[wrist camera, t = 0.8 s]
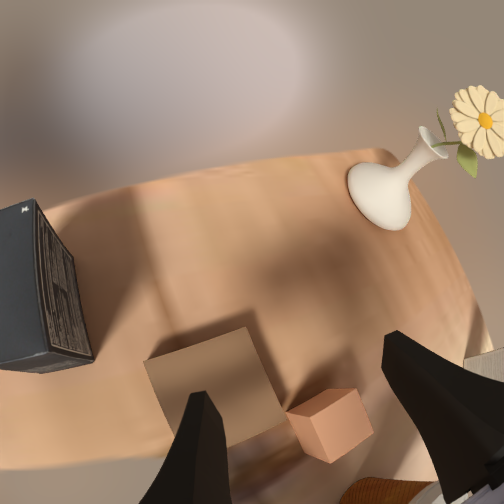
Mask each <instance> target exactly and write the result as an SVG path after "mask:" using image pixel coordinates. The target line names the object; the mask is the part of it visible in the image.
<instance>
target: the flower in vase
mask: <svg viewBox="0 0 504 504" xmlns="http://www.w3.org/2000/svg"><path fill="white" fill-rule="evenodd" d="M455 98H456V100H453V101H452V105H453V106H454V108H451V109H450V110H449V113H450V115H451V119H452V120H453V121H454V124H453V125H454V127H455V128H456V129H457V130H458V131H459V133H458V136H459V138H460V139H461V141H458V142H441V140H440V139H439V138H438V137H437V136H436V135H435V134H434V133H433V132H432V131H430V130H429V129H427V128H425V127H423V126H420V127H419V134H418V140H417V142H416V145H415V146H414V148H413V150H412V151H411V153H410V154H409V155H408V156H407V158H406V159H405V160H404V161H403V162H402V163H401V164H400V165H398V166H397V167H394V168H390V167H387V166H384V165H380V164H376V163H369V162H363V163H359V164H357V165H355V166H353V167H352V168H351V169H350V171H349V173H348V188H349V192H350V195H351V197H352V199H353V201H354V203H355V205H356V206H357V207H358V209H359V210H360V211H361V213H362V214H363V215H364V216H365V217H366V218H367V219H368V220H370V221H371V222H372V223H374V224H375V225H377V226H379V227H381V228H383V229H387V230H401V229H403V228H404V227H405V226H406V225H407V223H408V221H409V219H410V216H411V201H410V195H409V191H408V182H409V180H410V179H411V177H412V176H413V175H414V174H415V173H416V172H417V171H418V170H419V169H421V168H422V167H423V166H424V165H426V164H428V163H429V162H431V161H434V160H436V159H446V158H448V152H447V149H446V148H445V146H444V145H453V144H460V145H459V147H458V152H457V161H458V163H459V164H460V165H461V167H463V169H465V170H466V171H467V172H468V173H469V174H470V175H471V176H473V177H474V178H476V175H477V156H476V153H475V152H474V151H473V150H472V149H471V148H474V150H475V151H476V152H478V153H479V155H481V156H484V157H485V158H486V159H493V158H495V155H496V156H497V157H502V156H503V155H504V99H500V98H499V97H498V95H497V94H496V92H494V91H491V92H489V91H488V90H486V89H484V87H483V86H481V85H479V86H478V87H473V86H469V87H468V88H466V89H465V90H463V89H460V90H459V92H457V93H455ZM437 117H438V120H439V123H440V125H441V128H442V130H443V133H444V136H445V140H446V135H445V129H444V126H443V124H442V122H441V120H440V118H439V115H438V110H437ZM462 143H463V144H462ZM464 144H466V145H467V146H468V147H467V146H466V145H464Z"/></svg>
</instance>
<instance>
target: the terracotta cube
mask: <svg viewBox="0 0 504 504" xmlns="http://www.w3.org/2000/svg"><path fill="white" fill-rule="evenodd" d="M286 414H287V416H288V419H289V421H290V423H291V425H292V427H293V429H294V431H295V434H296V436H297V438H298V440H299V442H300V444H301V446H302V448H303V451H304V453H306V454H308V455H311V456H313V457H315V458H318V459H320V460H323V461H325V462H328V463H330V464H331V463H332V462H334V461H335V460H337V459H338V458H340V457H341V456H343V455H344V454H346V453H347V452H349V451H350V450H351V449H353V448H354V447H356V446H357V445H358V444H360V443H361V442H362V441H364V440H365V439H366V438H368V437H369V436H370V435H372V434H373V433H374V431H373V428H372V426H371V423H370V421H369V418H368V415H367V413H366V410H365V408H364V406H363V403H362V401H361V398H360V396H359V393H358V391H357V388H346V389H327V390H325V391H323V392H321V393H320V394H318V395H316V396H315V397H313V398H311V399H309V400H307V401H306V402H304V403H302V404H300V405H298V406H296V407H295V408H293V409H291V410H289V411H287V412H286Z"/></svg>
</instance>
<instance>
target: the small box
mask: <svg viewBox="0 0 504 504" xmlns="http://www.w3.org/2000/svg"><path fill="white" fill-rule="evenodd" d="M93 362H94V357H93V354H92V350H91V346H90V342H89V338H88V334H87V330H86V324H85V322H84V317H83V312H82V307H81V302H80V295H79V291H78V285H77V279H76V273H75V266H74V258H73V256H72V255H71V254H70V253H69V251H68V250H67V249H66V247H65V246H64V245H63V243H62V242H61V240H60V239H59V237H58V236H57V234H56V233H55V231H54V229H53V228H52V226H51V225H50V223H49V222H48V220H47V219H46V217H45V215H44V214H43V212H42V210H41V209H40V207H39V205H38V204H37V202H36V200H35V199H34V198H31V199H28V200H25V201H22V202H19V203H17V204H14V205H11V206H9V207H6V208H3V209H1V210H0V369H2V370H11V371H20V372H29V373H39V374H43V373H48V372H55V371H59V370H64V369H69V368H73V367H77V366H82V365H86V364H91V363H93Z"/></svg>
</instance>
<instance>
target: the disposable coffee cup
mask: <svg viewBox="0 0 504 504" xmlns="http://www.w3.org/2000/svg"><path fill="white" fill-rule="evenodd" d="M467 498H468V494H467V493H466V494H465V495H463V496H462V497H460V498H459V499H457V500H456V501H454V502H452V503H451V504H461V503H462V502H464V501H465V500H467ZM340 504H446V503H445V501H444V498H443V494H442V490H441V486H440V483H439V480H438V481H435V482H431V481H429V482H426V481H422V482H421V481H403V480H391V479H382V478H374V477H367V478H364V479H361V480H359V481H358V482H356V483H355V484H353V485H352V486H351V487H350V488H349V489H348V490H347V491H346V492H345V494H344V495H343V497H342V499H341V501H340Z"/></svg>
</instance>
